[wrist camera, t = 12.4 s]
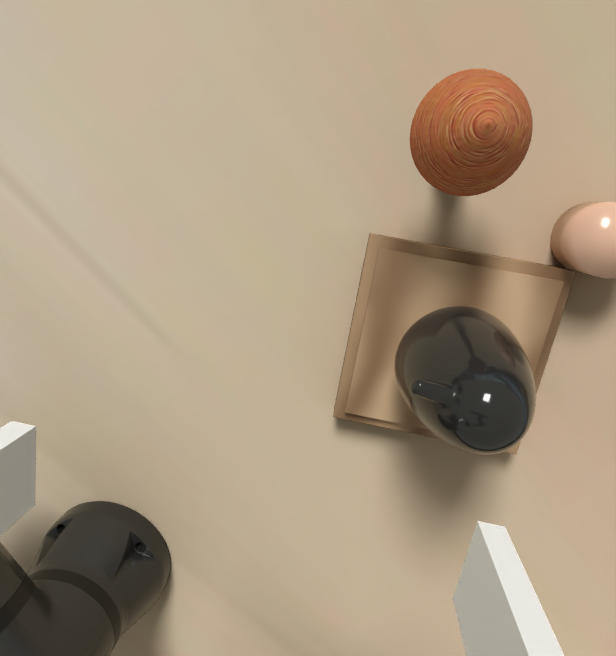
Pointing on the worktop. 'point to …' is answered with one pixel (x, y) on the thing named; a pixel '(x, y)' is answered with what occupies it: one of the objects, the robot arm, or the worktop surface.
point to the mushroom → (471, 132)
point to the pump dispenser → (467, 379)
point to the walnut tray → (427, 296)
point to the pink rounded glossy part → (587, 239)
